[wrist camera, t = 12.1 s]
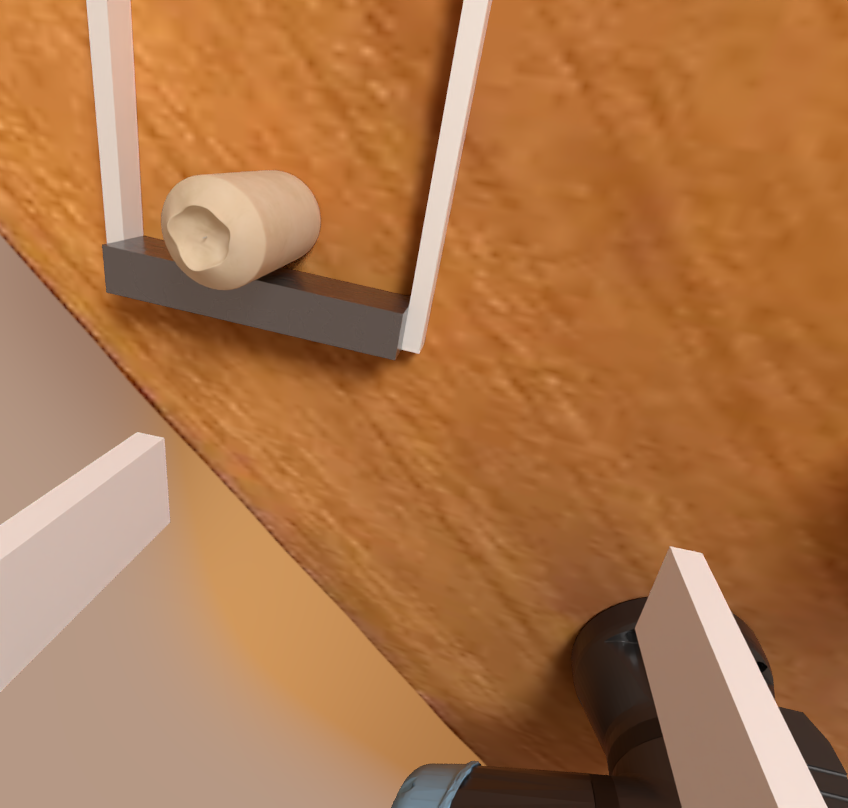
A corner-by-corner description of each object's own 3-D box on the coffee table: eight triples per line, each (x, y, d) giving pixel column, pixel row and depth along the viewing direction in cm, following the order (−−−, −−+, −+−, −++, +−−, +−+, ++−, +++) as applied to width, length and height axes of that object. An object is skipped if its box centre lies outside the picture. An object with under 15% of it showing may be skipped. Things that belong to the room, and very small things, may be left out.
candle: (304, 275, 35) (233, 316, 26) (229, 235, 35) (132, 263, 26) (335, 196, 33) (268, 213, 24) (254, 152, 32) (156, 152, 23)
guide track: (424, 343, 36) (414, 364, 32) (129, 275, 37) (88, 288, 34) (521, -149, 25) (522, -200, 21) (95, -224, 26) (28, -284, 22)
